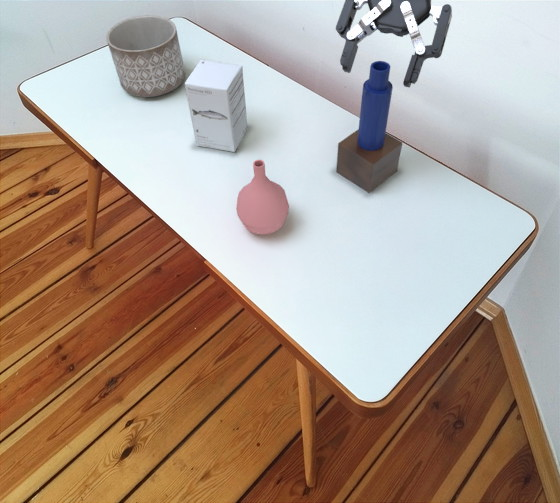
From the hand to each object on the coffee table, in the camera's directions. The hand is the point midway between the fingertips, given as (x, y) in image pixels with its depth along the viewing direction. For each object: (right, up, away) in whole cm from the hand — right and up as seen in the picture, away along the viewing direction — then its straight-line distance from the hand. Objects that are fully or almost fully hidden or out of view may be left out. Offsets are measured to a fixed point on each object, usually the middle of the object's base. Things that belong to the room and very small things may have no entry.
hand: (375, 78), depth 69 cm
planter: (-38, +10, +33) cm, 51 cm away
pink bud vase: (-15, -19, +9) cm, 26 cm away
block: (+1, -10, +15) cm, 18 cm away
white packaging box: (-23, -3, +22) cm, 32 cm away
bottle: (+1, -6, +10) cm, 12 cm away
